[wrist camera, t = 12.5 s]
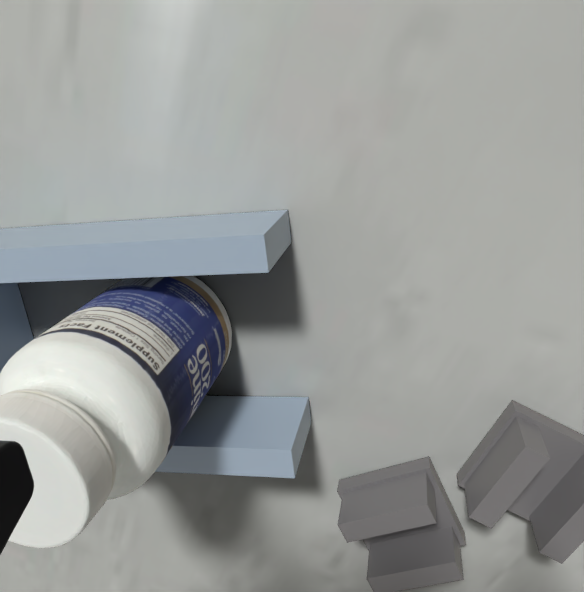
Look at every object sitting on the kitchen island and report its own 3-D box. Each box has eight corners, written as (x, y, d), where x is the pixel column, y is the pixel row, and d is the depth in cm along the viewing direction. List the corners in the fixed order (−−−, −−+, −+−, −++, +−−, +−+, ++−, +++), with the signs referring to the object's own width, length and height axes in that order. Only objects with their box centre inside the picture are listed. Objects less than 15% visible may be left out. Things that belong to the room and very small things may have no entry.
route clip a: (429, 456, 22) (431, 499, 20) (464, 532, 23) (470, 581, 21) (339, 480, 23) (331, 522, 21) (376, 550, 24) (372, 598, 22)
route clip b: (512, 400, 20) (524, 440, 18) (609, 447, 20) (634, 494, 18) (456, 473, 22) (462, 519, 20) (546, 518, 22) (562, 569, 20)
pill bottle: (204, 405, 23) (78, 603, 15) (95, 344, 23) (-98, 505, 15) (257, 306, 21) (147, 468, 12) (136, 238, 21) (-61, 352, 12)
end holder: (287, 209, 20) (263, 234, 16) (311, 422, 23) (294, 478, 19) (-24, 230, 23) (-96, 254, 19) (33, 416, 26) (-20, 463, 22)
